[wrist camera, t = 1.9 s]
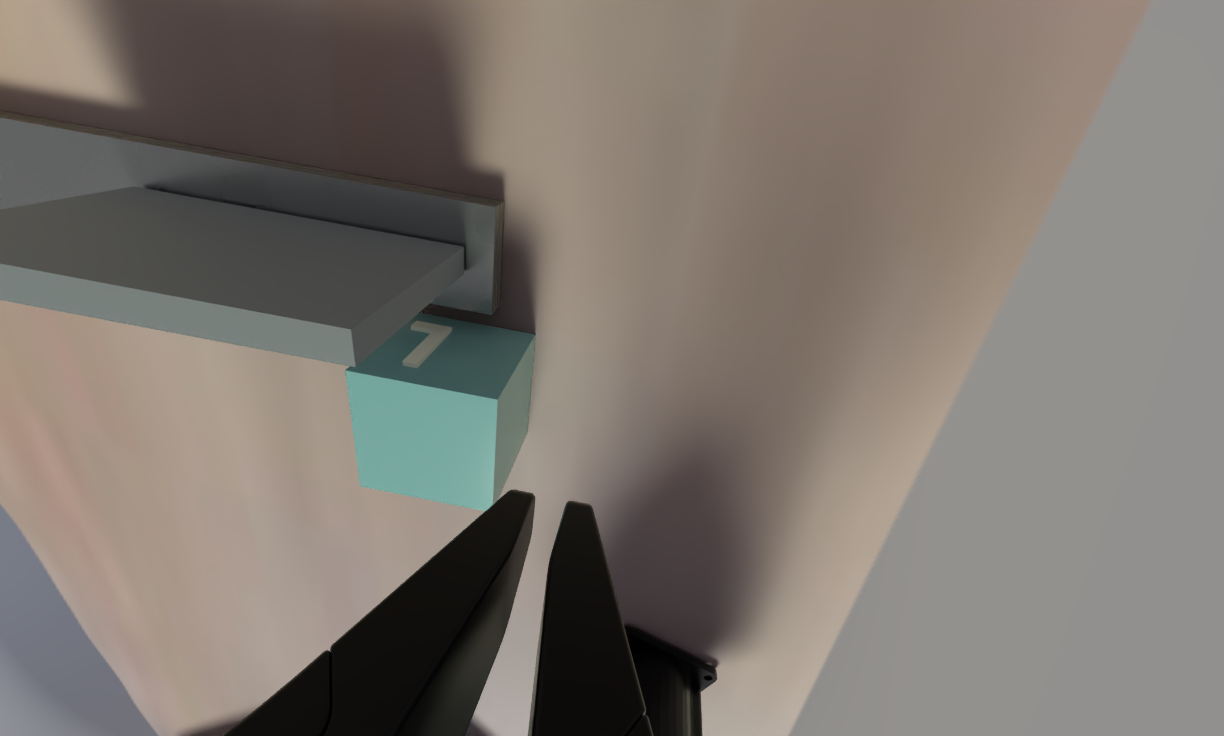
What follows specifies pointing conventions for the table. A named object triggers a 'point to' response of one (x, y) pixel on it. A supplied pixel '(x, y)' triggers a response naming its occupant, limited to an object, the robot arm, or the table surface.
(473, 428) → the cube
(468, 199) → the rail
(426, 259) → the screen
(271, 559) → the table surface
